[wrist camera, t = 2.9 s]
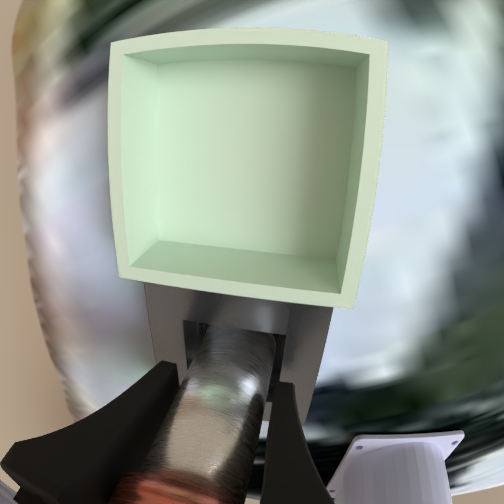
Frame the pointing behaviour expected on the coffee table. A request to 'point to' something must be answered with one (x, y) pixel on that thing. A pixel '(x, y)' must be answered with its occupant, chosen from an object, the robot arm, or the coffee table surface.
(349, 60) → the tray
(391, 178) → the coffee table surface
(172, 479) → the lock pin
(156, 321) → the block
